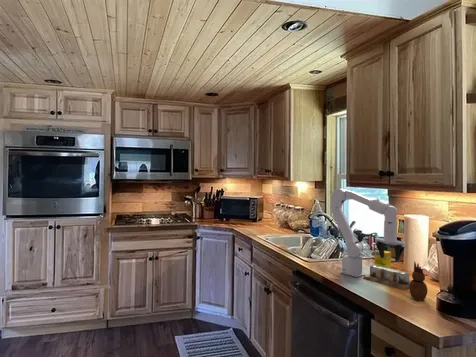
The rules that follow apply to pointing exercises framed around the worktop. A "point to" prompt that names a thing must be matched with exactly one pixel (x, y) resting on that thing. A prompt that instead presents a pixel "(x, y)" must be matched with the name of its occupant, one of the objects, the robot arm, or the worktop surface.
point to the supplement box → (383, 259)
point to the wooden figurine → (418, 284)
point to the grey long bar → (397, 277)
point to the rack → (384, 281)
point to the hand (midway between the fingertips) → (389, 259)
